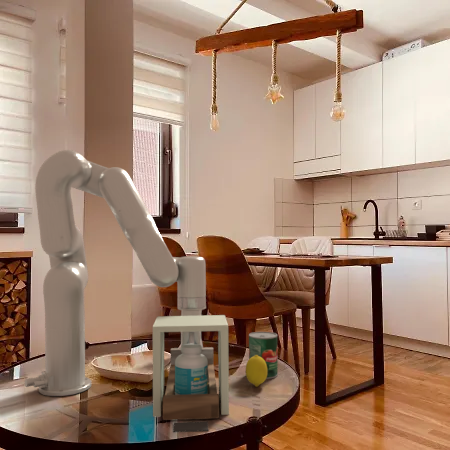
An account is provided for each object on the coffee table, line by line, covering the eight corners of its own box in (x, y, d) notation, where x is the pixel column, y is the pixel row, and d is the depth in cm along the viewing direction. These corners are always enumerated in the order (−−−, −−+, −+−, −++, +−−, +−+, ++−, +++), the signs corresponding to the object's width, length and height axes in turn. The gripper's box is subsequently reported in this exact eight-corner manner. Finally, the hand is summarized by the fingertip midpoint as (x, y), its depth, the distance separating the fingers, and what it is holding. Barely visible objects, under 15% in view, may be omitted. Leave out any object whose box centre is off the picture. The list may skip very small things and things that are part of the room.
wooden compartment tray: (218, 418, 98) (218, 385, 98) (162, 419, 97) (162, 386, 97) (213, 371, 130) (213, 347, 130) (171, 373, 129) (170, 348, 129)
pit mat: (208, 431, 92) (208, 429, 92) (172, 432, 92) (172, 430, 92) (207, 422, 96) (207, 421, 96) (173, 423, 96) (173, 422, 96)
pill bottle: (195, 414, 101) (194, 351, 101) (168, 407, 105) (167, 347, 105) (214, 403, 107) (213, 344, 108) (188, 397, 111) (187, 340, 112)
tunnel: (228, 414, 101) (228, 325, 101) (153, 416, 100) (152, 326, 100) (225, 394, 113) (224, 315, 113) (157, 396, 112) (157, 316, 112)
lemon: (266, 390, 115) (265, 358, 116) (244, 389, 117) (243, 357, 117) (268, 383, 121) (268, 352, 121) (247, 382, 122) (247, 351, 122)
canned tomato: (252, 369, 133) (252, 330, 133) (279, 371, 131) (279, 332, 131) (246, 378, 126) (245, 337, 126) (275, 380, 123) (274, 338, 124)
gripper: (178, 299, 132) (179, 364, 131) (176, 307, 117) (176, 381, 117) (205, 298, 132) (205, 363, 132) (206, 307, 117) (206, 380, 117)
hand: (192, 372), depth 124 cm, fingers closed
